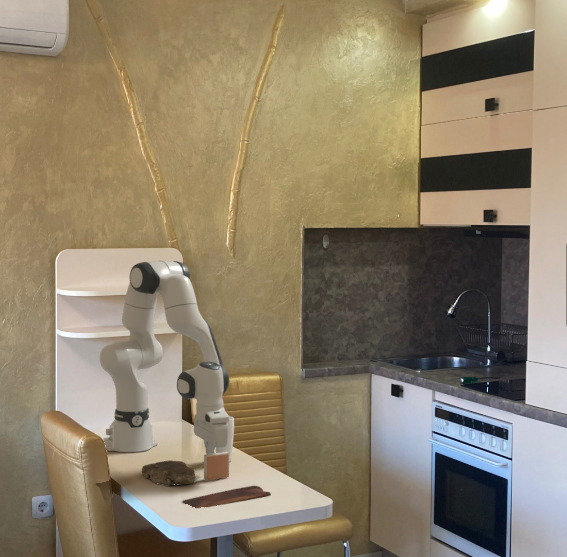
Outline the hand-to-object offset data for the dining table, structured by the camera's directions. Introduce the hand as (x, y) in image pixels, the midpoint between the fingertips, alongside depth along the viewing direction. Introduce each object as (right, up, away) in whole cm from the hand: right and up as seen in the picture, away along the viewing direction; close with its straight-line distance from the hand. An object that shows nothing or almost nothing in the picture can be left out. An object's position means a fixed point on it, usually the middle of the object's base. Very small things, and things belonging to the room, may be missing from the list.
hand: (209, 454), depth 284 cm
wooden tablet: (+7, -9, -24) cm, 26 cm away
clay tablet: (-12, -7, -6) cm, 15 cm away
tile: (+3, -7, -5) cm, 9 cm away
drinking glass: (+4, -5, +15) cm, 16 cm away
